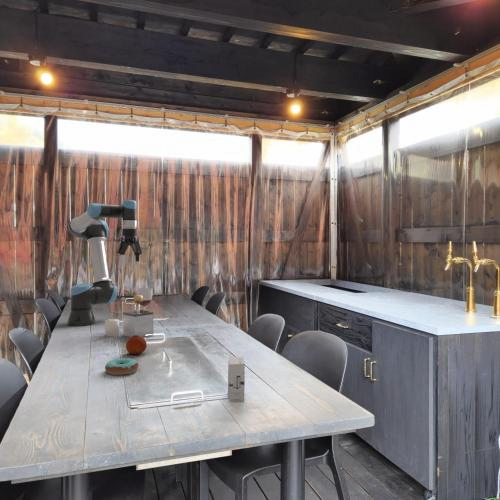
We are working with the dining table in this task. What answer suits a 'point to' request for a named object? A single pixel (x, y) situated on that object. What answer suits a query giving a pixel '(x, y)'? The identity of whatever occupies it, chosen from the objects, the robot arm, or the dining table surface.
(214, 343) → the dining table surface
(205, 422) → the dining table surface
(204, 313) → the dining table surface
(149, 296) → the wineglass
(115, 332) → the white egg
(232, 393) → the ink box
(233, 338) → the dining table surface
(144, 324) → the grey block with hole
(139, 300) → the gold knobbed rod
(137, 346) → the fruit
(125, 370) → the donut
